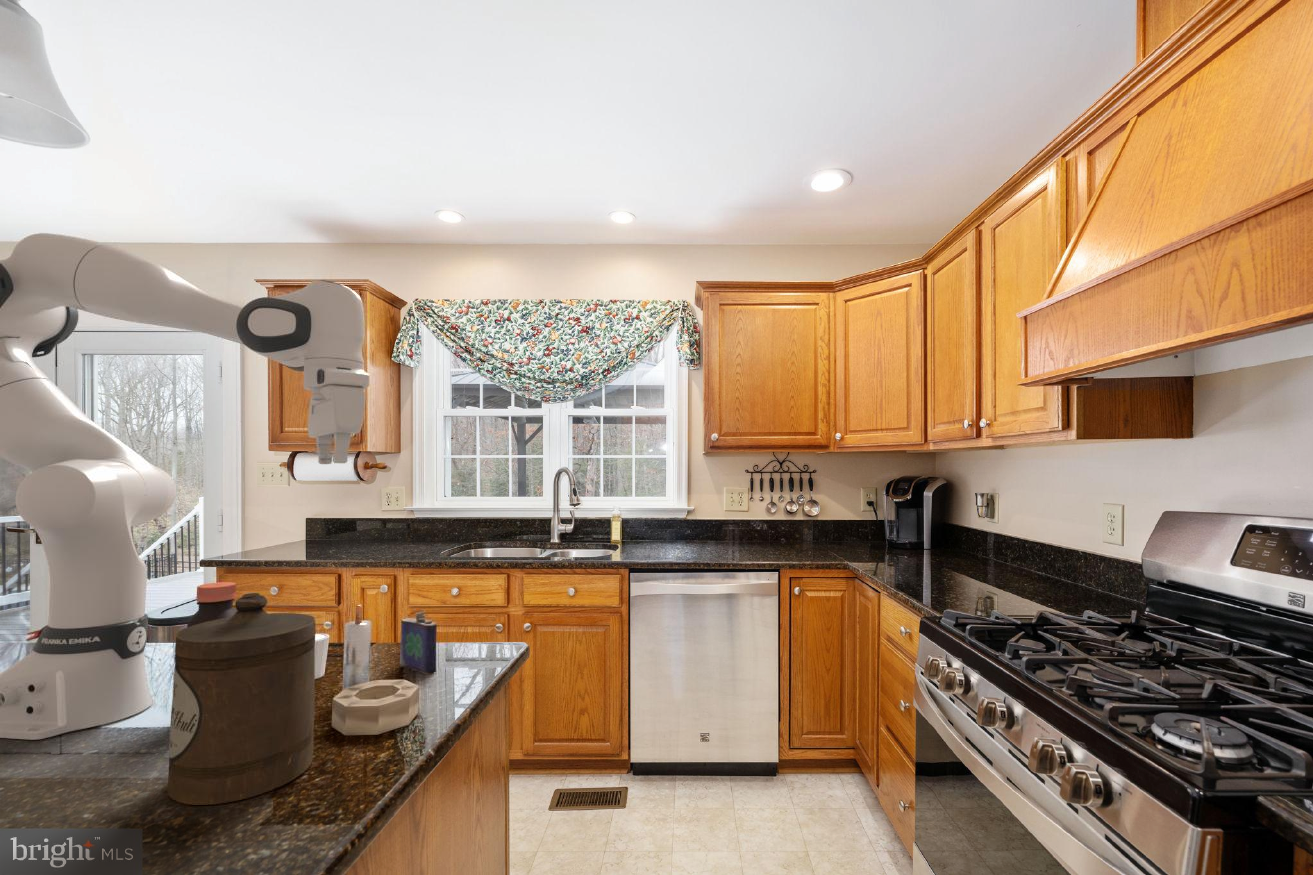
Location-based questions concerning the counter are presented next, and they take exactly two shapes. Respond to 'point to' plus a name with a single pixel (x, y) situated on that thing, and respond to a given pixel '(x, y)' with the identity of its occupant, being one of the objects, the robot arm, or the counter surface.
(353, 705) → the bead
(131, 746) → the counter surface
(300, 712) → the wooden container
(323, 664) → the white short cylinder
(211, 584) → the bottle
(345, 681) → the white candle
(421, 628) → the flask
